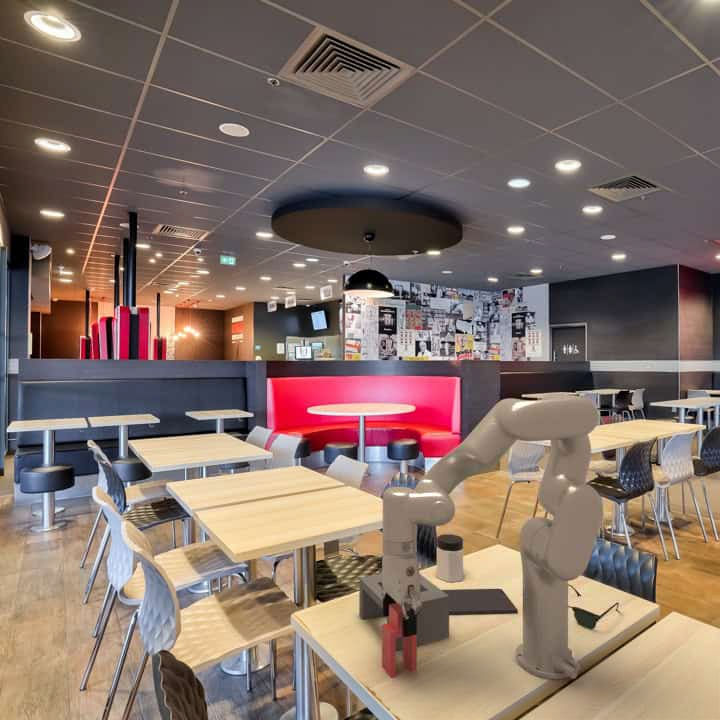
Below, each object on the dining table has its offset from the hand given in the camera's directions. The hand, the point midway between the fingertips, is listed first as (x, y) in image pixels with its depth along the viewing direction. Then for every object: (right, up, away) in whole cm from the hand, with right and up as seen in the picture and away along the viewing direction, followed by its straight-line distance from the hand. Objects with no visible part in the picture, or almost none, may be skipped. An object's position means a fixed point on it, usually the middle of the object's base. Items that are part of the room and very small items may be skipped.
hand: (399, 624), depth 107 cm
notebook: (+23, -11, +30) cm, 39 cm away
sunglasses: (+52, -11, +25) cm, 59 cm away
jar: (+20, -11, +47) cm, 52 cm away
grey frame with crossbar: (+2, -10, +17) cm, 20 cm away
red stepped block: (0, -9, 0) cm, 9 cm away
